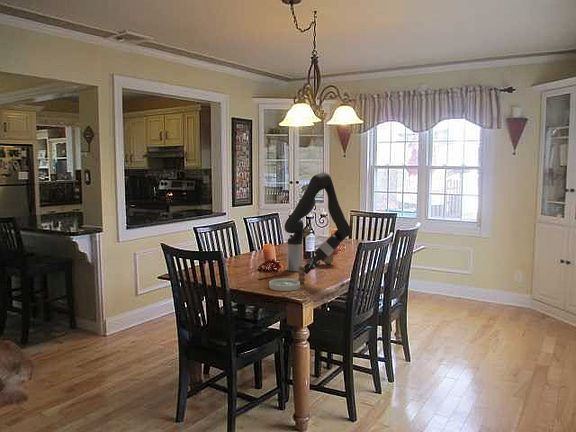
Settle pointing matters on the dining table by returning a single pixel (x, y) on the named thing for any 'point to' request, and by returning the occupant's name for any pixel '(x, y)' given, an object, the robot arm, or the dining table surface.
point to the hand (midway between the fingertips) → (304, 271)
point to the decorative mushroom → (331, 257)
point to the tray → (284, 284)
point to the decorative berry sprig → (272, 268)
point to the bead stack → (301, 274)
